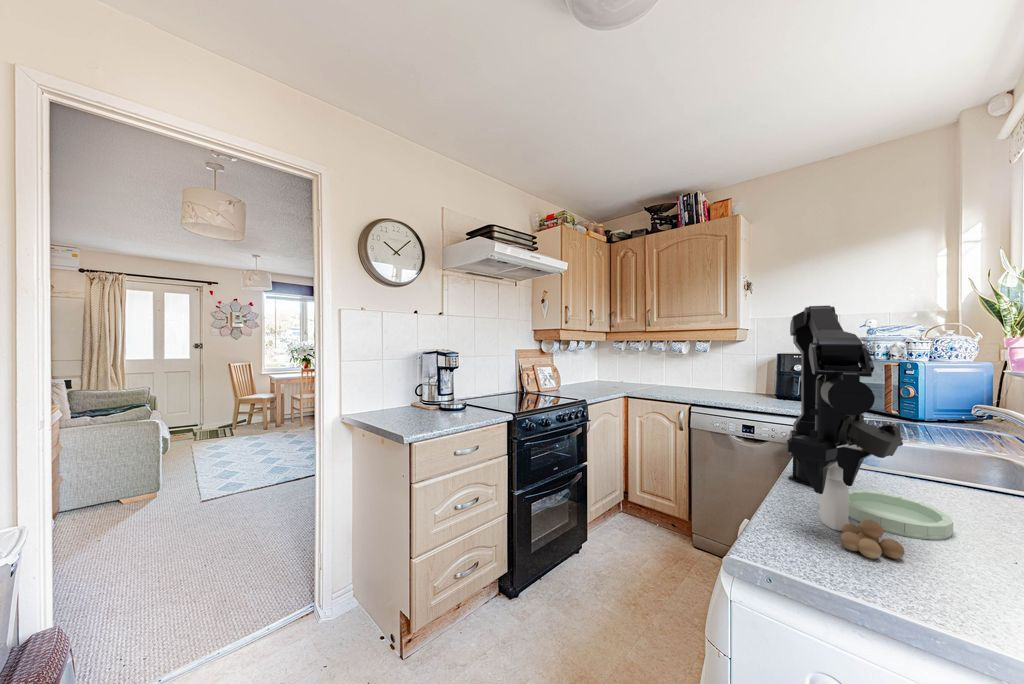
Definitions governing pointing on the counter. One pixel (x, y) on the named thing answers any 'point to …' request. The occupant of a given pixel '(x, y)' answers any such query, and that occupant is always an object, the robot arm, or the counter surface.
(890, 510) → the sage dish
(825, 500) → the eye dropper bottle
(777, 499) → the counter surface
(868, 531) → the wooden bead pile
